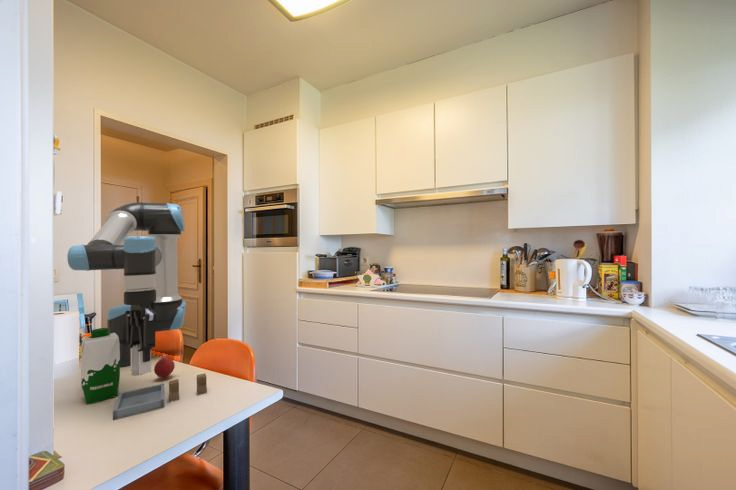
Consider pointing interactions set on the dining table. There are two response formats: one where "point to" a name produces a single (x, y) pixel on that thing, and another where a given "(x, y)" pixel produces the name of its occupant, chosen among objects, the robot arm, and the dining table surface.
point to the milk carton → (100, 365)
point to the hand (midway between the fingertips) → (140, 371)
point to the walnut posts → (175, 387)
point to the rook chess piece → (135, 361)
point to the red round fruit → (164, 367)
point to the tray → (139, 401)
